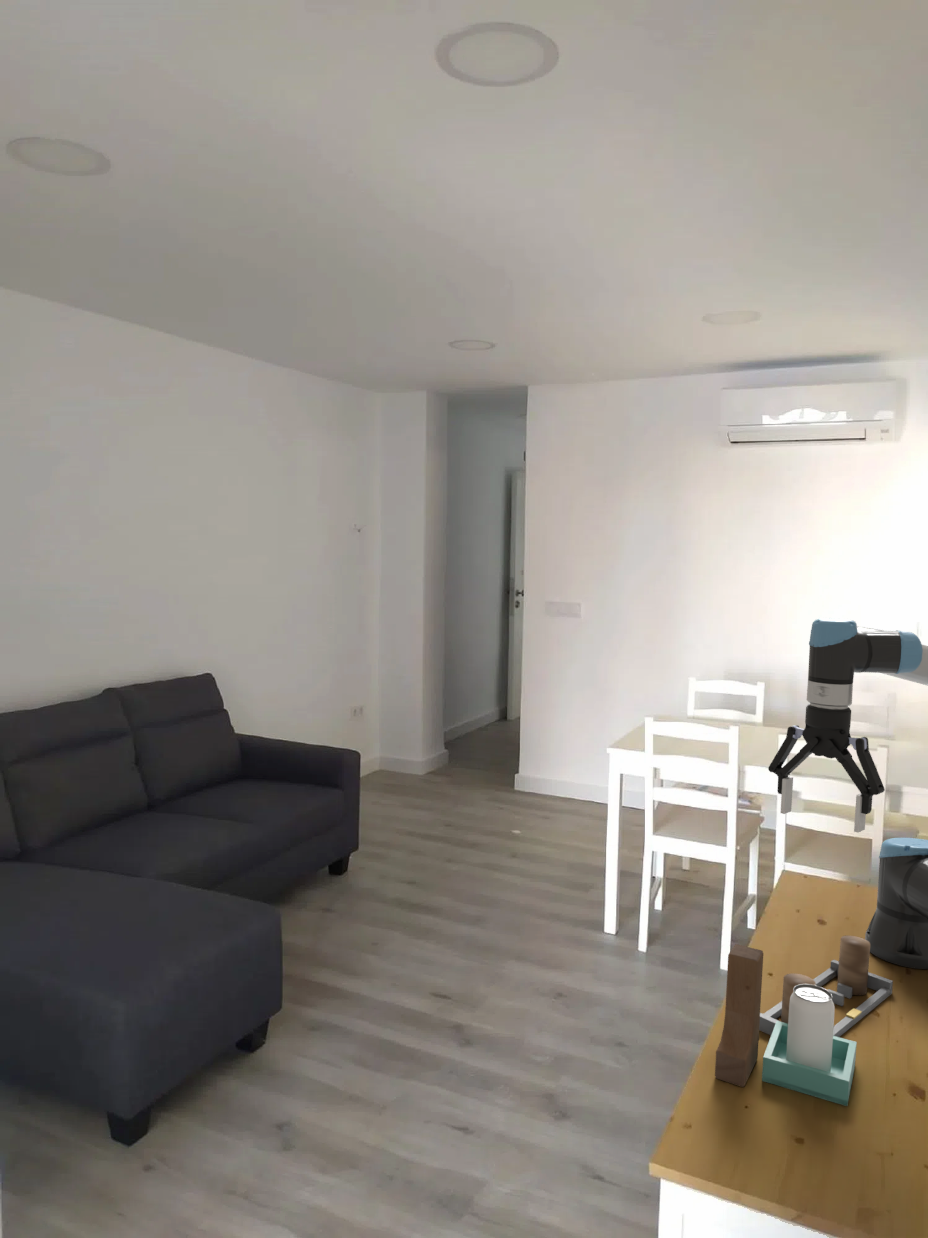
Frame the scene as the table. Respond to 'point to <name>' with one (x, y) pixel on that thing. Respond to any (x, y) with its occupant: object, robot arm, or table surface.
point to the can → (810, 1027)
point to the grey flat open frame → (837, 1001)
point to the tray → (810, 1069)
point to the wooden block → (740, 1016)
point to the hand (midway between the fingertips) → (821, 821)
